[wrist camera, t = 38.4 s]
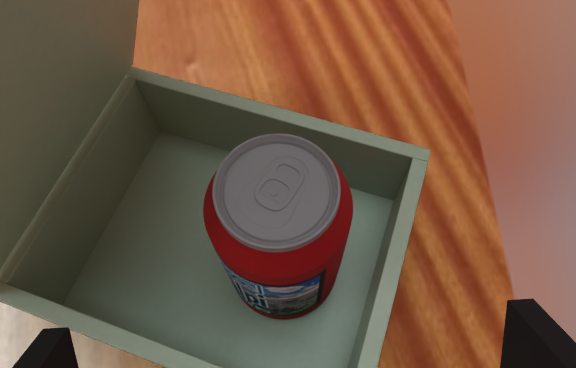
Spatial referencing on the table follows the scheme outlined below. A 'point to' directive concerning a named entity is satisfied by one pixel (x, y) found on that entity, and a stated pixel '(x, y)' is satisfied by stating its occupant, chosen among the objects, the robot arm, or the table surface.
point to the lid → (53, 93)
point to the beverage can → (279, 223)
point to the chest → (204, 235)
